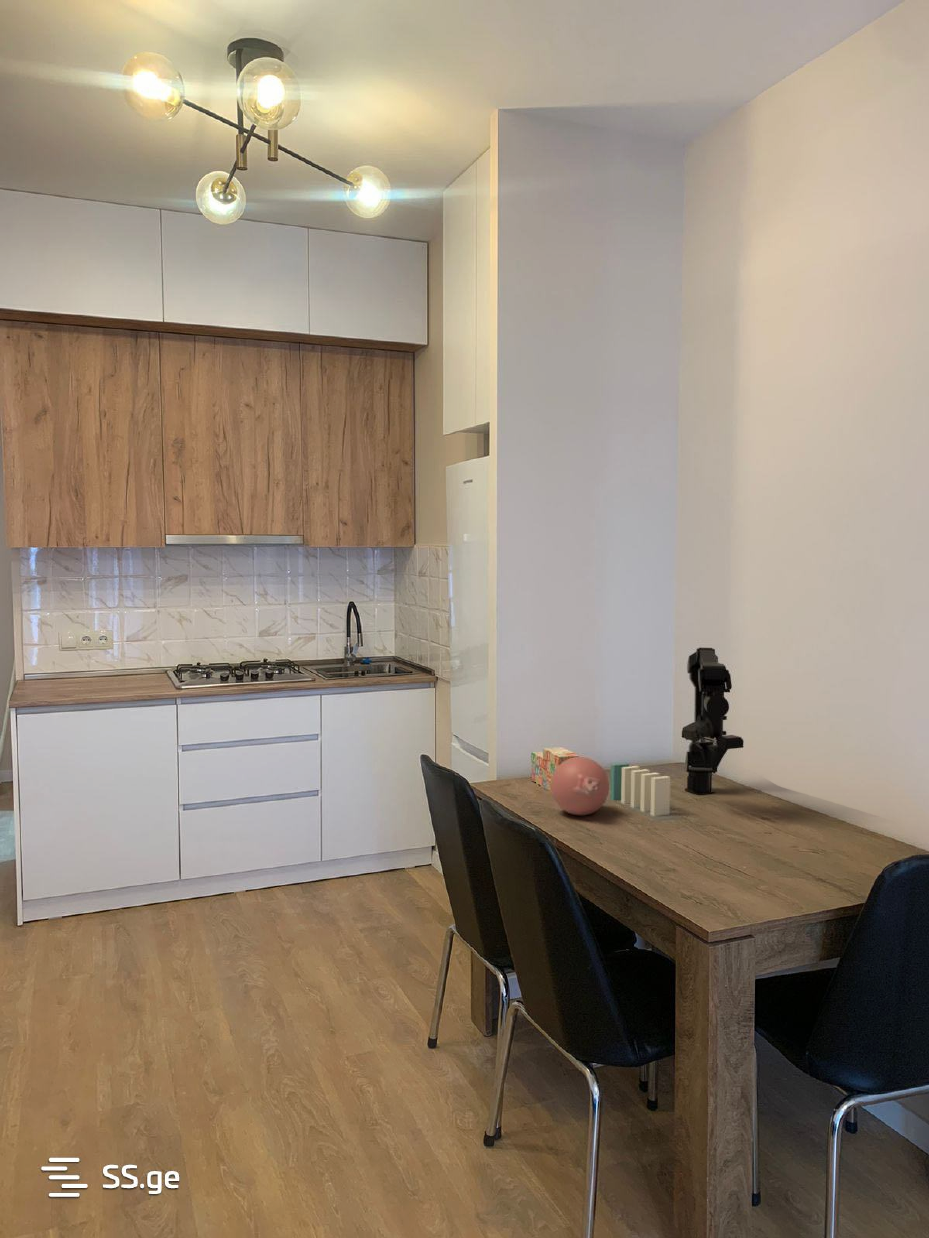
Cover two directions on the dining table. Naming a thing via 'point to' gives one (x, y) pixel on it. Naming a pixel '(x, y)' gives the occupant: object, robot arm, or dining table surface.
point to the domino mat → (660, 817)
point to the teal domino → (616, 780)
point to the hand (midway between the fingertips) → (711, 769)
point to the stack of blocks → (548, 764)
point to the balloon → (580, 786)
